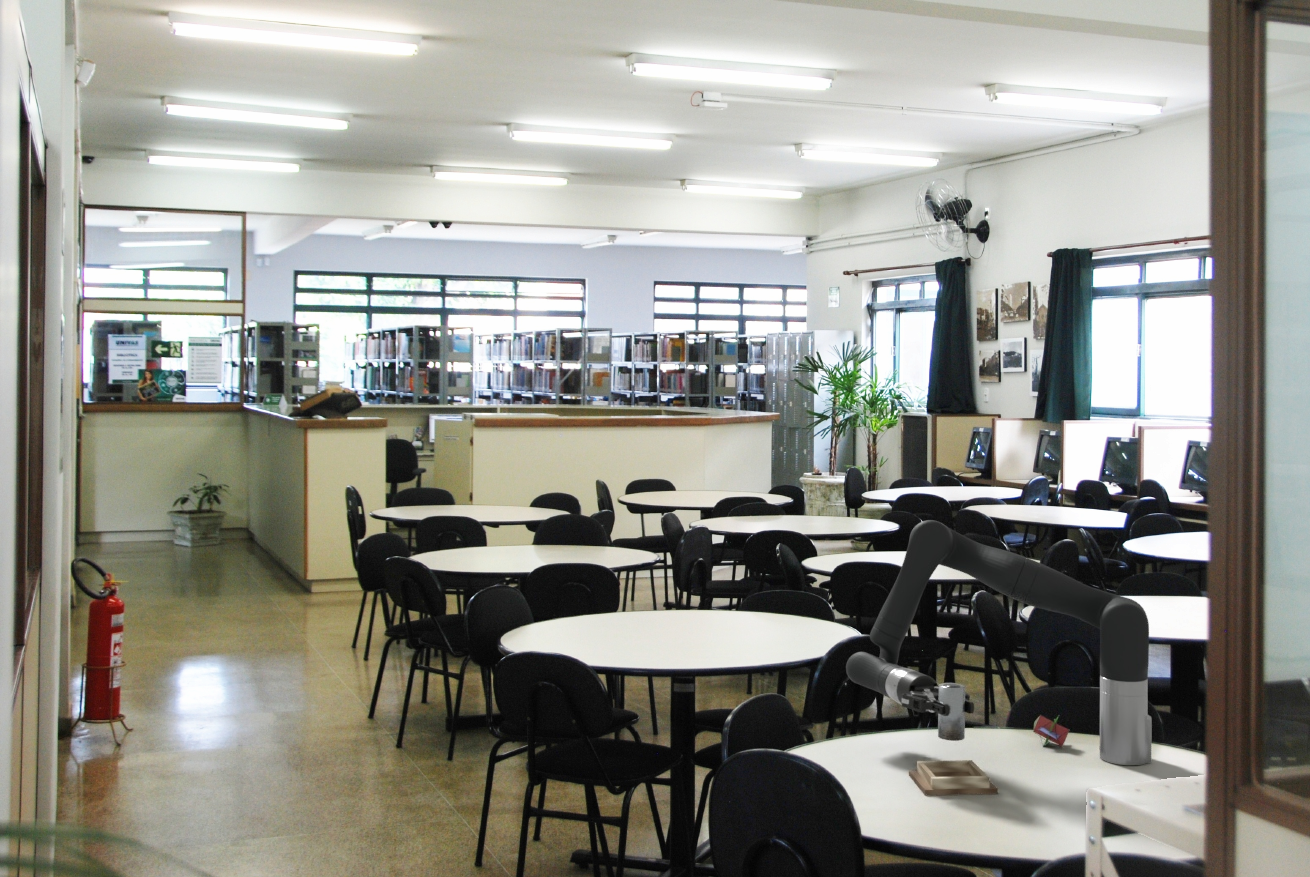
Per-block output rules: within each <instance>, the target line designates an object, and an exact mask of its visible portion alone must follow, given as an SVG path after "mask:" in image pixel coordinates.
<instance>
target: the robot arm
mask: <svg viewBox="0 0 1310 877" xmlns="http://www.w3.org/2000/svg"><path fill="white" fill-rule="evenodd" d="M938 566H943V567H946V568H949V569H952V570H955V571H958V572H961V573H963V574H966V575H968V576H970V577H972V578H974V579H975V580H977V581H979V582H981V583H982V584H984V585H986V586H987V587H989V588H991V589H993V590H994V591H996V592H999V593H1000V594H1002V595H1004V596H1006V597H1008V598H1011V599H1013V600H1016V601H1018V602H1020V603H1022V604H1025V605H1028V606H1031V607H1034V608H1037V609H1041V610H1045V611H1049V612H1054V613H1059V614H1063V615H1067V616H1070V617H1073V618H1076V619H1077V620H1081V621H1082V622H1085V623H1087V624H1089V625H1091V626H1092V627H1095V628H1097V629H1098V630H1100V631H1099V632H1100V633H1099V634H1100V638H1099V639H1100V642H1099V644H1100V645H1099V646H1100V647H1099V650H1100V652H1099V758H1100V759H1101V760H1103V761H1105V762H1106V763H1107V762H1108V763H1111V764H1115V765H1120V766H1121V765H1122V766H1123V765H1124V766H1141V765H1144V764H1148V763H1149V764H1151V763H1152V728H1153V727H1152V726H1153V724H1152V716H1151V715H1149V714H1148V702H1149V701H1148V692H1149V691H1148V690H1149V689H1148V687H1149V686H1148V681H1149V679H1148V678H1149V675H1148V674H1149V662H1150V661H1149V660H1150V659H1149V656H1150V654H1149V650H1150V647H1149V645H1150V627H1149V625H1150V624H1149V623H1150V622H1149V618H1148V615H1147V613H1146V611H1145V609H1144V608H1143V606H1142V605H1141V604H1140V603H1138V602H1137V601H1136V600H1133V599H1131V598H1129V597H1124V596H1122V595H1117V594H1114V593H1111V592H1107V591H1105V590H1102V589H1099V588H1094V587H1092V586H1089V585H1087V584H1084V583H1082V582H1080V581H1078V580H1076V579H1074V578H1073V577H1071V576H1068V575H1066V574H1065V573H1062V572H1060V571H1058V570H1057V569H1054V568H1051V566H1047V565H1045V564H1043V563H1040V562H1039V561H1036V560H1033V559H1031V558H1029V557H1026V556H1024V555H1021V554H1017V553H1015V552H1011V551H1008V550H1005V549H1001V548H998V547H993V546H989V545H985V544H983V543H979V542H977V541H975V540H973V539H971V538H969V537H968V536H965V535H963V534H961V533H959V532H957V531H956V530H953V529H952V528H950V527H948V526H947V525H945V524H944V523H943V522H940V521H937V520H933V519H928V520H923V521H920V522H919V523H917V524H916V525H914V527H913V529H912V530H911V532H910V534H909V540H908V545H907V548H906V552H905V555H904V559H903V562H902V565H901V568H900V570H899V573H898V574H897V575H898V576H897V578H896V580H895V582H894V584H893V586H892V588H891V589H890V592H889V594H888V596H887V597H886V600H885V602H884V603H883V605H882V607H881V609H880V611H879V613H878V616H877V618H876V620H875V622H874V624H873V626H872V628H871V630H870V633H869V639H870V641H871V642H872V643H873V644H874V645H876V646H877V647H879V650H880V651H879V652H880V653H879V657H878V656H875V655H873V654H871V653H868V652H865V651H858V652H855V653H853V654H852V655H851V656H850V657H849V658H848V659H847V662H846V664H845V671H846V675H847V677H848V678H849V679H850V680H851V682H853V683H854V684H857V685H860V686H862V687H864V688H866V689H870V690H872V691H875V692H878V693H880V694H881V695H883V696H884V697H887V698H889V699H891V700H893V701H895V702H896V703H897V704H899V705H901V707H902V708H907V709H909V710H913V711H915V712H916V713H917V712H918V713H922V714H924V713H926V712H929V713H936V714H941V715H943V716H948V715H949V706H948V704H945V703H943V702H940V701H938V698H939V684H938V683H937V681H936V680H935V679H934V678H933V677H931V676H930V675H927V674H924V673H922V672H919V671H917V670H915V669H911V668H908V667H904V666H901V665H900V664H899V665H898V661H899V658H900V652H901V647H902V644H903V642H904V639H905V637H906V635H907V633H908V631H909V629H910V627H911V624H912V622H913V621H914V620H913V619H914V617H915V615H916V612H917V610H918V607H919V603H920V601H921V598H922V596H923V594H924V591H925V590H926V586H927V584H928V582H929V580H930V579H931V577H932V575H933V574H934V572H935V571H936V569H937V567H938ZM970 698H971V695H970V694H969V693H968V692H966V691H965V713H967V714H969V715H970V714H974V711H975V703H974V702H973V701H971V700H970Z"/></svg>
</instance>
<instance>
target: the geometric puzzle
mask: <svg viewBox="0 0 1310 877" xmlns="http://www.w3.org/2000/svg"><path fill="white" fill-rule="evenodd" d="M1059 718H1061V715H1060V714H1059V715H1056V717H1054V718H1053V719H1052V718H1049V717H1048V716H1046V715H1041V714H1040V715H1039V716H1038V717H1037V718H1036V719H1035V721H1033V722H1034V723H1033V731H1032V732H1033V733H1034V734H1036V736H1039V737H1040V741H1041V745H1042V747H1043V748H1044V747H1048V748H1049V747H1053V748H1054V747H1056V746H1057V747H1061V748H1063V747H1064V746H1063V745H1064V744H1065V742H1066V739H1067V737H1068V734H1069V732H1070V729H1069V728H1067V727H1066V726H1067V725H1066V723H1064V725H1063V724H1062V722H1060V721H1058V719H1059ZM1042 739H1043V740H1044V741H1045V742H1044V744H1043V741H1042ZM1049 744H1053V745H1055V746H1051V745H1050V746H1048V745H1049Z"/></svg>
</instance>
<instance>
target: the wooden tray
mask: <svg viewBox="0 0 1310 877" xmlns="http://www.w3.org/2000/svg"><path fill="white" fill-rule="evenodd" d="M908 777H909V778H910V779H911V780H912V781H913V783H914V784H915V785H916V786H917V787H918V788H919V790H920V791H921V793H922V794H923V795H924V796H960V795H961V796H962V795H964V796H965V795H967V796H968V795H998V794H999V788H998V787H997V786H996V785H995V784H994V783H993V782H992V781H991V780H990V776H988V775H987V774H986V773H985V772H984V770H982V769H981V767H980V766H978V765H977V764H976V763H975V762H974V761H973V759H971V760H970V759H966V760H962V759H960V760H957V759H956V760H916V770H914V769H913V770H908Z"/></svg>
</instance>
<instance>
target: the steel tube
mask: <svg viewBox="0 0 1310 877" xmlns="http://www.w3.org/2000/svg"><path fill="white" fill-rule="evenodd" d="M938 686H939V698H938V701H940V702H943V703H945V704H948V706H949V715H948V716H943V715H941V714H938V713H937V714H938V716H937V717H938V718H937V736H938V738H939V739H942V740H945V741H956V742H957V741H958V742H959V741H963V740H964V739H965V738H966V737H965V736H966V735H965V732H966V730H965V729H966V728H965V727H966V726H965V725H966V717H965V716H966V712H965V692H966V686H965V685H964V684H962V683H956V682H944V683H939V684H938Z"/></svg>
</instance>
